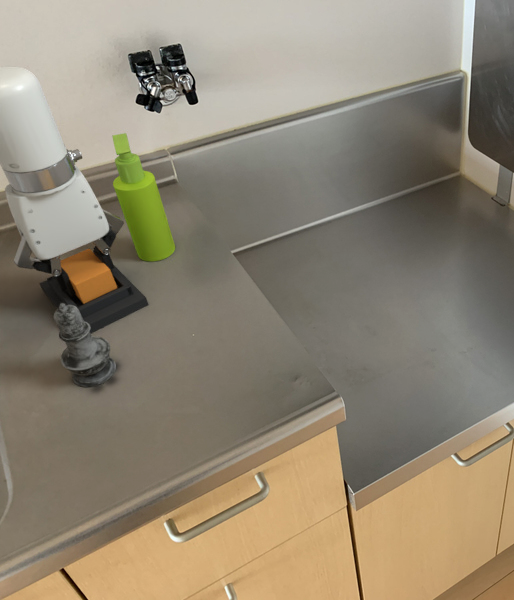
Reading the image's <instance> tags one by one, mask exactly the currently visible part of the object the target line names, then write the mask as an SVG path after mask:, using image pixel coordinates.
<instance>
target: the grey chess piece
mask: <svg viewBox="0 0 514 600" xmlns="http://www.w3.org/2000/svg"><path fill="white" fill-rule="evenodd" d="M53 319H54V322H55V324H56V326H57V327H58V330H59V333H58V336H59V339H60V340H61V341H62V342H64V343H65V345H66V347H65V349H64V350H63V351H62V352H61V355H60V359H59V361H60V364H61V366H63V367H64V369H67V370H68V371H69V372H70V373H72V381H73V383H75V385H77V386H79V387H82V388H92V387H96V386H97V387H98V386H100V385H102V384H103V383H105V382H107V381H108V380H109V379H110V378H112V377H113V375H114V374H115V373H116V369H117V365H116V362H115V360H114V359H113V358H111V357H110V354H111V345H110V342H109V341H108V340H107V339H106V338H103V337H101V336H93V335H92V333H90V325H89V324H88V323H87V322H85V321H84V320H83V318H82V316H81V314H80V311H79V309H78V308H77V307H76V306H73V305H65V304H63V303H60V305H59V308H58V309H57V308H56V310H55V311H54V313H53Z"/></svg>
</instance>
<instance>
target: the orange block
mask: <svg viewBox="0 0 514 600" xmlns="http://www.w3.org/2000/svg"><path fill="white" fill-rule="evenodd" d="M60 260H61V267H62V268H63V269H64V271H65V272H66V273H67V274H68V276H69V280H70V282H71V284H72V286H73V288H74V290H75V293H76V294H75V295H76V296H77V297H78V298H79V299H80V300H81V301H82V303H83V304H85V303H87V302H89V301H91V300H93V299H95V298H97V297H100V296H102V295H104V294H106V293H108V292H110V291H112V290H115V289H117V285H116V283H115V280H114V278H113V276H112V273H111V271H110V269H109V268H108V267H107V266H106V265H105V264H104V263H102V262H101V260H100V259H99V258H98V257H97V256H96V255H95V254H94V252H93V250H92V249H90V248H87V249H84V250H81V251H79V252H78V253H75V254H73V255H70V256H68V257H65V258H63V259H60Z"/></svg>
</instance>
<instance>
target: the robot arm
mask: <svg viewBox="0 0 514 600" xmlns="http://www.w3.org/2000/svg"><path fill="white" fill-rule="evenodd" d="M82 159H83V155H82V153H81V150H80V149H78V148H76V149H73V150H72V149H68V148H67V147H66V144H65V142H64V140H63V138H62V135H61V133H60V130H59V127H58V125H57V122H56V120H55V117H54V114H53V112H52V109H51V107H50V105H49V102H48V100H47V97H46V94H45V92H44V90H43V87H42V85H41V83H40V80H39V78H38V77H37V76H36V75H35V74H34V73H33V72H32V71H30V70H29V69H27V68H25V67H21V66H10V65H9V66H8V65H7V66H6V65H5V66H0V167H1V169H2V171H3V173H4V175H5V177H6V179H7V182H8V183H9V184H7V185H6V186H5V188H4V192H5V197H6V200H7V204H8V207H9V210H10V213H11V215H12V218H13V221H14V224H15V226H16V228H17V231H18V233H19V235H20V238H21V239H20V242H19V245H18V247H17V250H16V253H15V256H14V258H13V262H14V264H15V265H16V266H17V267H18V268H20V269H27V270H35V271H38V272H41V273H45V274H50V275H52V276H53V277H54V279H55V281H56V283H57V285H58V287H59V288H60V290H61V291H64V290H67V292H68V293H69V294H70V295H71V296H74V295H75V294H76V293H75V290H74V288H73V286H72V284H71V282H70V280H69V276H68V274H67V273H66V272H65V271H64V269H63V268H62V267H61V260H62V259H61V256H62V255H65V254H66V253H69V252H71V251H74V250H76V249H78V248H81V247H83V246H85V245H88V244H90V243H92V244H93V245H94V247H92V249H93V250H92V252H93V253H94V254H95V255H96V256H97V257H98V258H99V259H100V260H101V262H102V263H104V264H105V265H106V266H107V267H108V268H109V269H110V271H111V273H112V276H113V277H114V274H113V272H112V270H111V269H113V268H115V267H116V266H115V263H114V262H113V259H112V257H111V252H112V249H111V247H112V246H113V243H114V242H115V240H116V238H117V234H118V233H119V232H120V231H121V229H122V228H123V227H124V225H125V221H124V220H123V219H122V218H120V216H117V215H116V214H114V213H111V212H109V211H107V210H105V209H103V208H102V206H101V204H100V202H99V200H98V199H97V196H96V194H95V192H94V190H93V188H92V187H91V185H90V183H89V182H88V180H87V179H86V177H85V176H84V174H83V173H82V171H81V170H80V169H79V167H78V166H76V163H77V162H78V161H80V160H82ZM32 253H33V254H34V256H35V257H31V255H32ZM114 266H115V267H114Z"/></svg>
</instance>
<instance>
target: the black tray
mask: <svg viewBox="0 0 514 600" xmlns="http://www.w3.org/2000/svg"><path fill="white" fill-rule="evenodd" d="M114 267H115V268H113V269H111V270H112V272H113V274H114V277H113V278H114V280H115V283H116V285H117V289H115V290H112V291H110V292H108V293H106V294H104V295H102V296H100V297H97V298H95V299H93V300H91V301H89V302H87V303H85V304H83V303H82V301H81V300H80V299H79V298H78V297H77V296H76V295H74V296H71V295H70V294H69V293H68V292H67V290H64V291H61V290H60V288H59V287H58V285H57V283H56V281H55V279H54V277H53V275H52V276H50V277H47V278H46V280H44V281H42V282H39V286H40V288H41V290H42V291H43V293H44V294H45V295H46V297H47V298H48V299H49V300H50V301H51V303H52V304H53V305H54V307H55V308H56V310H57V309H58V308H59V305H60V303H63V304H65V305H73V306H76V307H77V308H78V309H79V311H80V314H81V316H82V318H83V320H84V321H85V322H87V323H88V324H89V325H90V333H91V334H93V333H94V332H96V331H98V330H100V329H103V328H105V327H107V326H109V325H111V324H113V323H114V322H116V321H119V320H121V319H123V318H125V317H127V316H129V315H131V314H133V313H135V312H137V311H139V310H141V309H143V308H145V307H147V306H149V302H148V299H147V297H146V296H145V294H143V293H142V291H140V289H139V288H137V286H135V284H134V283H132V281H130V279H129V278H128V277H127V276H126V275H125V274H124V273H123V272H121V270H120V269H118V267H117V266H116V265H114Z"/></svg>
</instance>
